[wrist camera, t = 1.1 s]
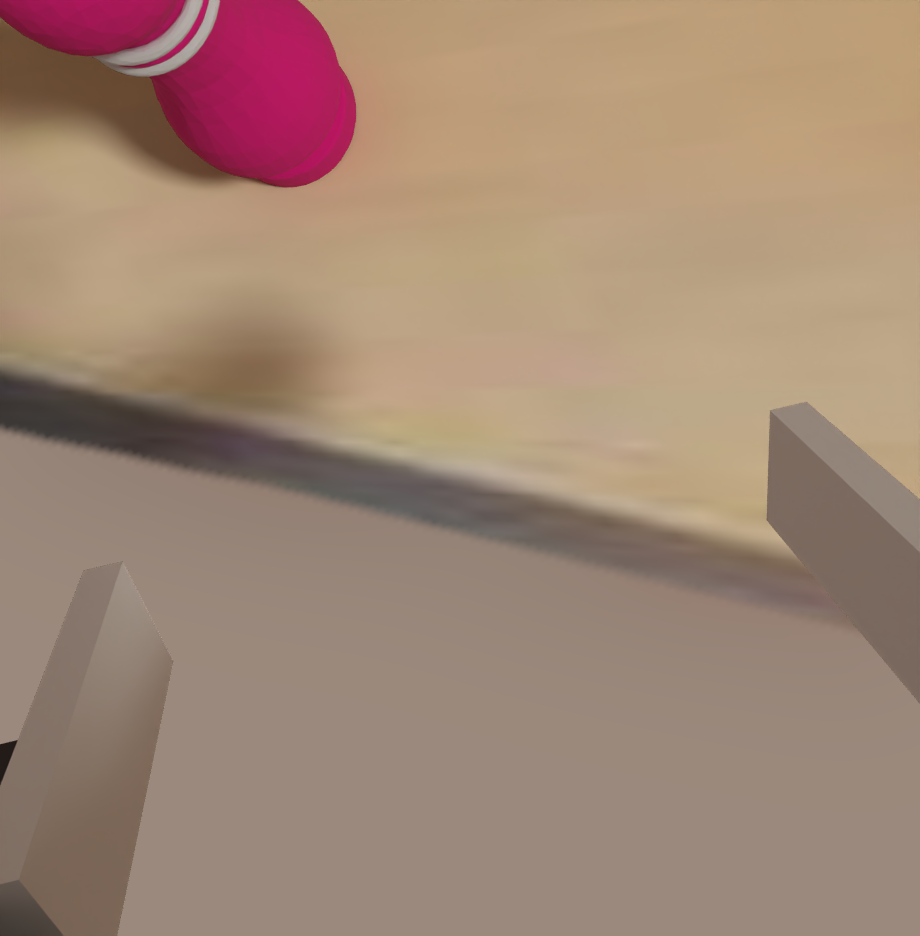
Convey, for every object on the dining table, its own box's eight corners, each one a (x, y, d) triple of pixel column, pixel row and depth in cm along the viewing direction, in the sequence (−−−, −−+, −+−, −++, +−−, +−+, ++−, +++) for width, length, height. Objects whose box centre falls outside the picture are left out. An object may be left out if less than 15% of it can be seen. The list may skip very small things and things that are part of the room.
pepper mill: (323, 2, 37) (5, -435, 17) (395, 149, 37) (161, -116, 17) (190, 86, 38) (-246, -228, 18) (260, 227, 38) (-99, 66, 19)
